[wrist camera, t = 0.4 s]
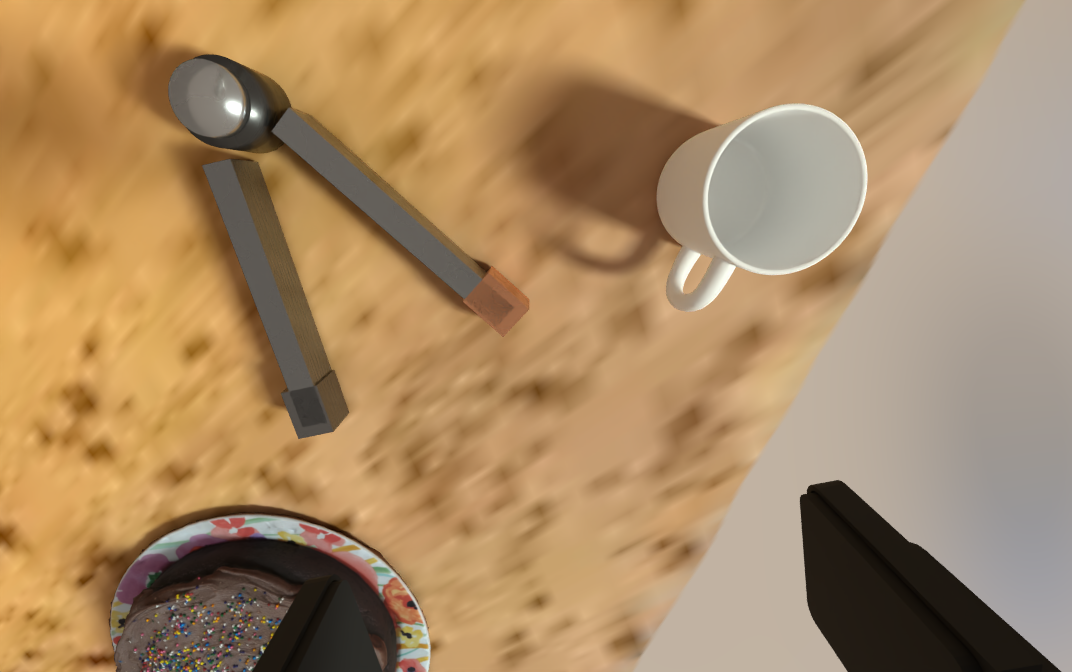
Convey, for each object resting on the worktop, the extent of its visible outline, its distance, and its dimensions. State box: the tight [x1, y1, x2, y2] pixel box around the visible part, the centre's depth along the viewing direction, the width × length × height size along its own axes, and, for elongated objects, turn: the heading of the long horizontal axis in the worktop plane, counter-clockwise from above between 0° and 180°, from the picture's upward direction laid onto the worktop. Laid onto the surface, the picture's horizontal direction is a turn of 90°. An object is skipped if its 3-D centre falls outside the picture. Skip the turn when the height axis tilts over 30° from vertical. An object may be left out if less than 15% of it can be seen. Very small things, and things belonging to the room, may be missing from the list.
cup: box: [657, 103, 867, 312], centre depth 30 cm, size 8×12×10 cm
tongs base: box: [186, 55, 349, 439], centre depth 33 cm, size 24×6×4 cm, turn 12°
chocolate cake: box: [109, 513, 431, 672], centre depth 42 cm, size 28×28×7 cm
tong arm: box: [168, 59, 529, 337], centre depth 32 cm, size 24×5×5 cm, turn 47°
